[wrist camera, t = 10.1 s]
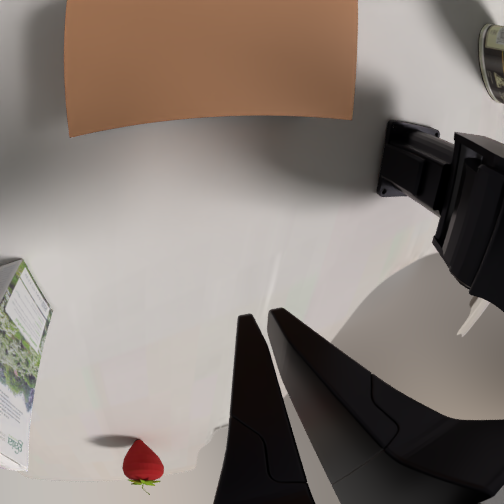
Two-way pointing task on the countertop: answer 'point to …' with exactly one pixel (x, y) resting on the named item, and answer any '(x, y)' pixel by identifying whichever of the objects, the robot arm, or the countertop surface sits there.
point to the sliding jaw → (207, 60)
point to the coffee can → (492, 60)
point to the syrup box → (19, 359)
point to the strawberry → (142, 464)
